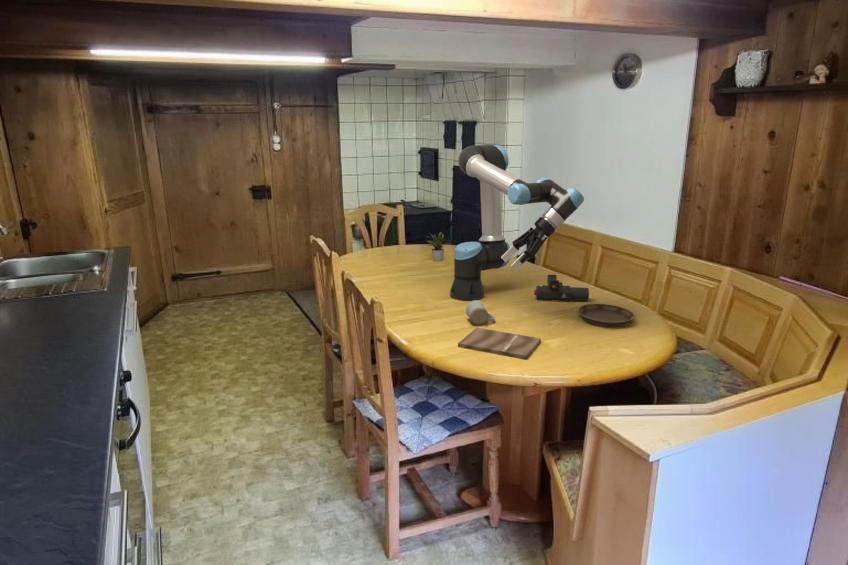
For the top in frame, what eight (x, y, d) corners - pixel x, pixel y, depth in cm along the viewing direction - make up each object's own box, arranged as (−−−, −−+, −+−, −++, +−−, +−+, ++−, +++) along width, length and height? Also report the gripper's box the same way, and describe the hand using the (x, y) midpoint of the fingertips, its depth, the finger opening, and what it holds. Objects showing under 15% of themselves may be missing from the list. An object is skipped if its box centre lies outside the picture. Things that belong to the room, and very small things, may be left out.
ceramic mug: (470, 326, 207) (470, 306, 205) (465, 319, 215) (465, 300, 213) (497, 325, 209) (498, 305, 206) (491, 318, 216) (492, 299, 214)
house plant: (426, 256, 318) (426, 228, 314) (450, 257, 316) (450, 229, 312) (423, 262, 305) (423, 233, 300) (448, 263, 303) (448, 233, 298)
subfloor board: (457, 346, 188) (457, 342, 187) (476, 330, 202) (476, 327, 202) (526, 359, 177) (526, 355, 177) (540, 341, 192) (540, 337, 191)
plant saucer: (645, 326, 207) (646, 317, 206) (597, 332, 201) (597, 323, 200) (612, 309, 226) (612, 301, 225) (567, 314, 220) (567, 306, 219)
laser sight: (589, 304, 232) (590, 281, 229) (534, 302, 235) (536, 280, 232) (585, 297, 241) (587, 275, 239) (533, 296, 244) (534, 274, 241)
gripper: (568, 235, 194) (525, 278, 196) (543, 224, 218) (505, 263, 220) (554, 221, 192) (511, 264, 194) (531, 211, 216) (493, 250, 218)
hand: (508, 264), depth 207 cm, fingers open, 13 cm apart
